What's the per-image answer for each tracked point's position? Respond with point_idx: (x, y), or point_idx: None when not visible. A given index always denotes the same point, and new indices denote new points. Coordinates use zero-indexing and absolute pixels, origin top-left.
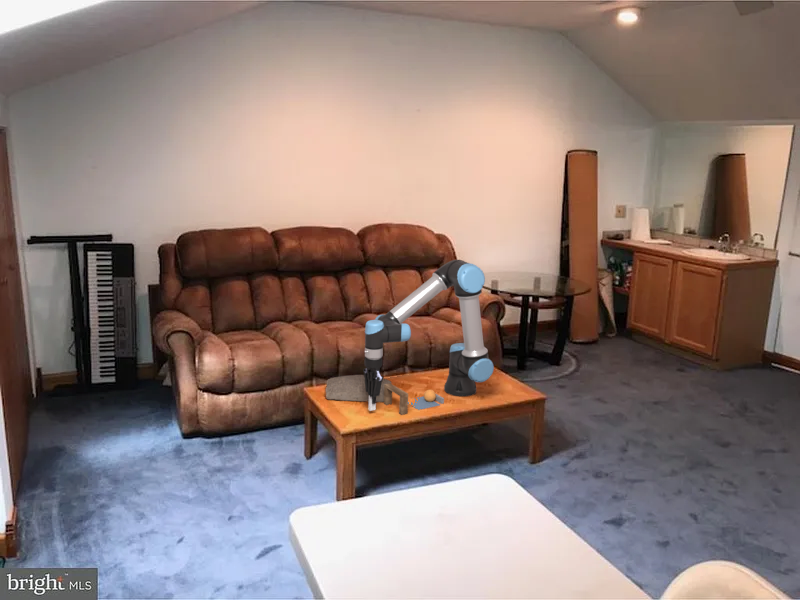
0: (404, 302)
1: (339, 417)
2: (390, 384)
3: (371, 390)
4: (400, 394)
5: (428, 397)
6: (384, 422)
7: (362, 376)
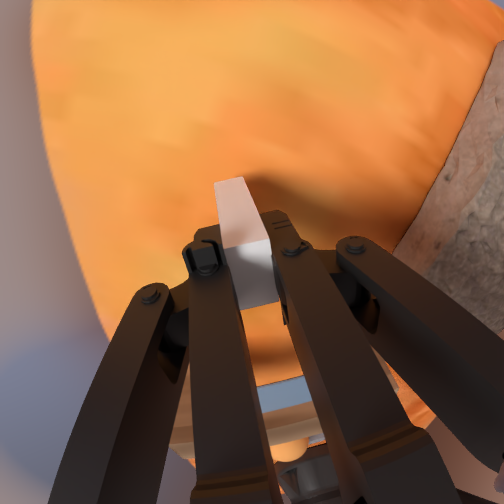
0: None
1: None
2: None
3: (221, 315)
4: (189, 437)
5: None
6: (73, 232)
7: None
